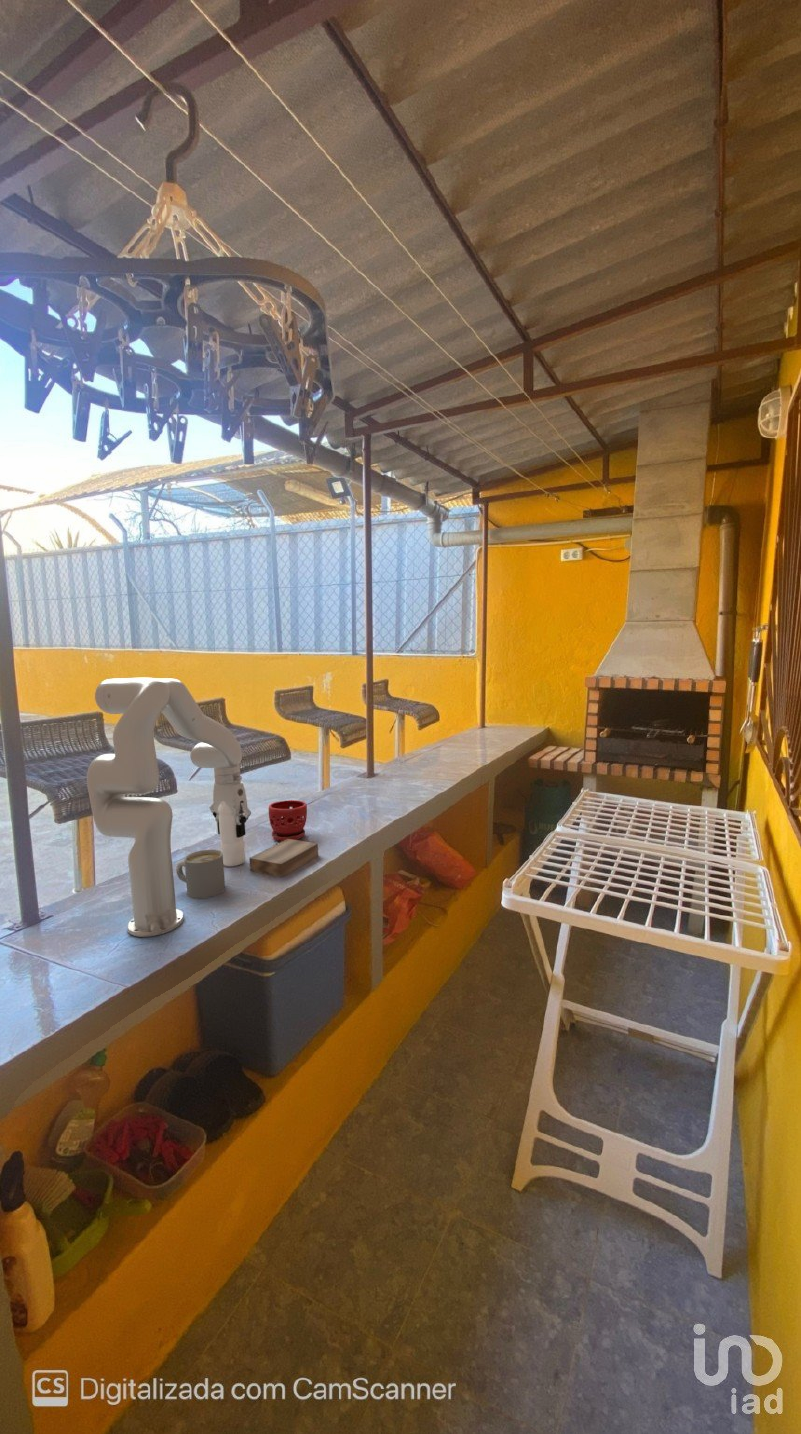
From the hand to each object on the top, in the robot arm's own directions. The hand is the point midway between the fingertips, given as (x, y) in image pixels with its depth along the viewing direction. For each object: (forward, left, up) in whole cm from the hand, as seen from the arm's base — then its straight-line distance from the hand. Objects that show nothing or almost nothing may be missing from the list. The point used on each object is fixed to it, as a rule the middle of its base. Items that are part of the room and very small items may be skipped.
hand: (231, 834), depth 173 cm
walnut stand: (-10, -13, -9) cm, 19 cm away
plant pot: (+12, -23, -10) cm, 28 cm away
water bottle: (0, 0, -9) cm, 9 cm away
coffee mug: (-14, +13, -10) cm, 21 cm away
